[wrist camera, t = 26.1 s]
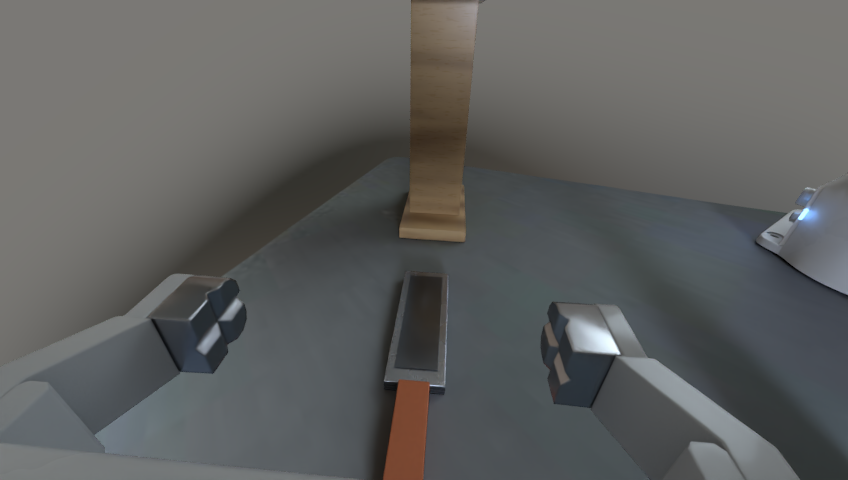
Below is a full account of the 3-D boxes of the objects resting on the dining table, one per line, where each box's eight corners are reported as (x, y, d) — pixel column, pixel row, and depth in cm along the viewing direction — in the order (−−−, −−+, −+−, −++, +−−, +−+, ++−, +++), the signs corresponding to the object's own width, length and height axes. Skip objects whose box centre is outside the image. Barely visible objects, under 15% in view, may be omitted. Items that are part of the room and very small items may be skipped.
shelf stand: (464, 242, 43) (493, -26, 29) (399, 238, 43) (396, -28, 29) (463, 194, 54) (482, -13, 41) (411, 191, 55) (413, -15, 41)
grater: (439, 570, 17) (440, 560, 16) (350, 560, 17) (347, 549, 17) (448, 281, 36) (448, 270, 35) (405, 278, 36) (405, 267, 36)
